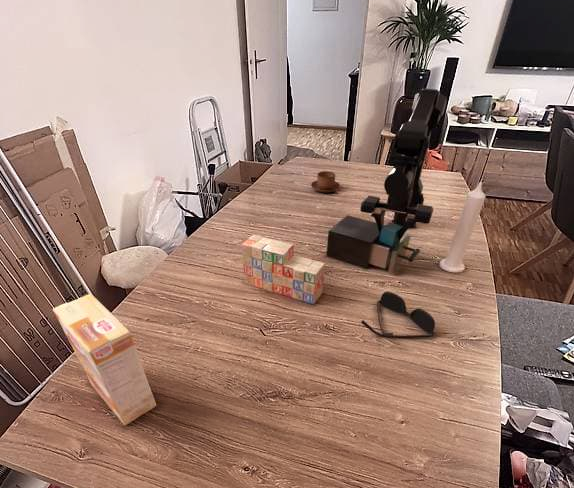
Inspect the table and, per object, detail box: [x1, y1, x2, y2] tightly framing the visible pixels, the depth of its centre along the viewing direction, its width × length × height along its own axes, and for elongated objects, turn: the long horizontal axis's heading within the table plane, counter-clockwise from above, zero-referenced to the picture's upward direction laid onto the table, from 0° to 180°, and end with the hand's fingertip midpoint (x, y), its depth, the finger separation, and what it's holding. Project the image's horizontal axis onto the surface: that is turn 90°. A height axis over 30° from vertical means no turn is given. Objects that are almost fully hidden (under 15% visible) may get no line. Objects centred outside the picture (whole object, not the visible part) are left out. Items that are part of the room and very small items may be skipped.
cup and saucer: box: [310, 170, 341, 193], centre depth 155 cm, size 12×12×6 cm
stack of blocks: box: [241, 234, 326, 305], centre depth 99 cm, size 21×6×12 cm, turn 62°
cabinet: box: [325, 214, 380, 270], centre depth 115 cm, size 14×13×9 cm
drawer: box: [369, 234, 421, 274], centre depth 111 cm, size 17×11×7 cm
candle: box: [439, 181, 487, 274], centre depth 104 cm, size 7×7×25 cm
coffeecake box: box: [52, 293, 157, 426], centre depth 69 cm, size 15×7×20 cm, turn 45°
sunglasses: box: [361, 291, 436, 339], centre depth 89 cm, size 17×14×5 cm
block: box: [379, 221, 403, 246], centre depth 107 cm, size 4×4×4 cm
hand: (390, 237), depth 108 cm, fingers closed on block, 5 cm apart
